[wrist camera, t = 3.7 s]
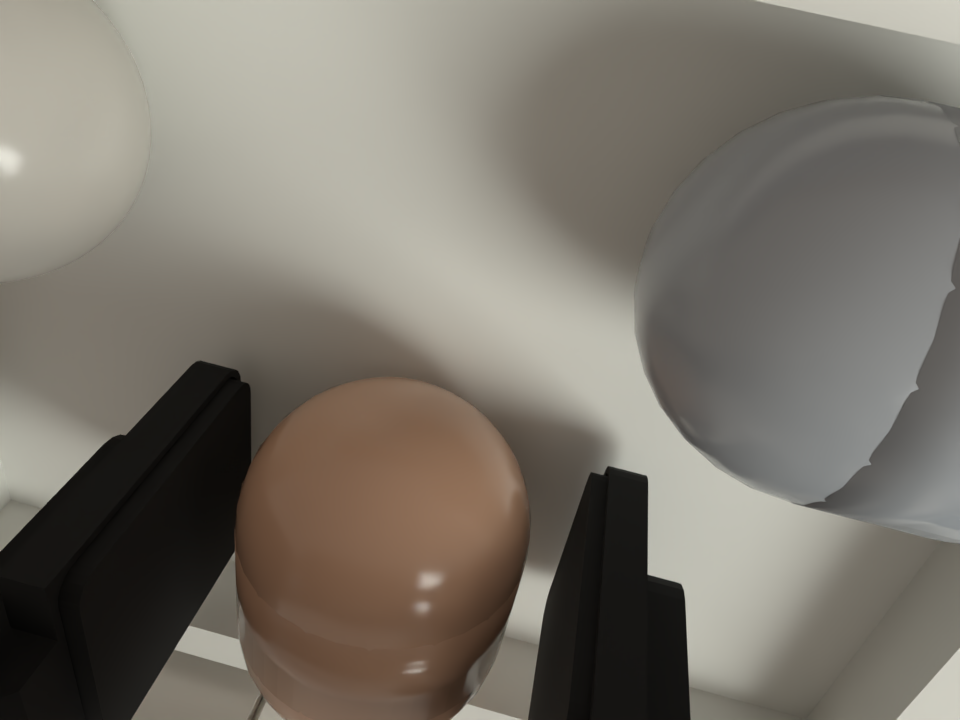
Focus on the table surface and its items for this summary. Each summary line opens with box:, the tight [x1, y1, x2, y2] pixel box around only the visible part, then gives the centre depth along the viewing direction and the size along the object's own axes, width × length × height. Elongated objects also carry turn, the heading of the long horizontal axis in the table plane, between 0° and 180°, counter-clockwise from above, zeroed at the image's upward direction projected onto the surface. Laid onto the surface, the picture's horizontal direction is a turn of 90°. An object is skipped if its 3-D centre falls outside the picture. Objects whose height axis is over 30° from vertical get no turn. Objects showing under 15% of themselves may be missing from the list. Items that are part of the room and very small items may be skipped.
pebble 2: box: [235, 377, 531, 720], centre depth 10 cm, size 5×4×4 cm
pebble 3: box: [634, 95, 960, 544], centre depth 7 cm, size 5×4×4 cm
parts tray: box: [0, 0, 960, 720], centre depth 10 cm, size 16×12×2 cm
